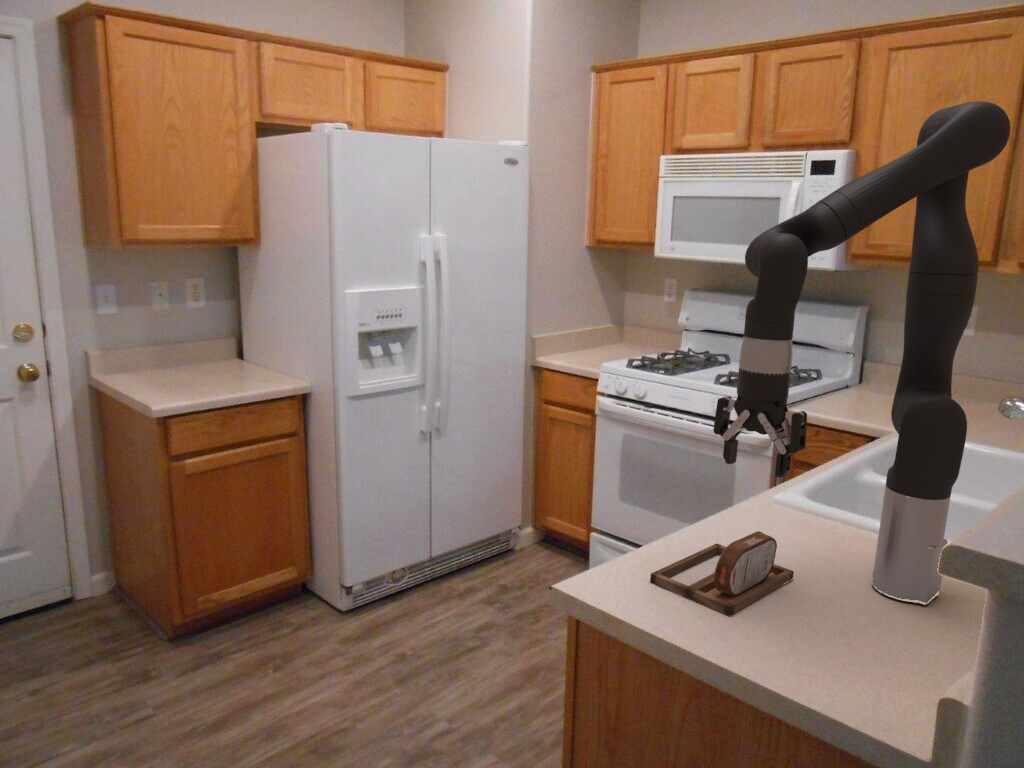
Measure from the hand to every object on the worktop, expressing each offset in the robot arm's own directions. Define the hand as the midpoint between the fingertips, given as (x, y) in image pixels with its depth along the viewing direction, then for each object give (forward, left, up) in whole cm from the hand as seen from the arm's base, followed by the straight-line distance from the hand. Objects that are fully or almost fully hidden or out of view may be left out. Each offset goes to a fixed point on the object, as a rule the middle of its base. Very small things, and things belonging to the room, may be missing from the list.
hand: (754, 469), depth 122 cm
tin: (0, 0, -20) cm, 20 cm away
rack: (+4, 0, -20) cm, 20 cm away
